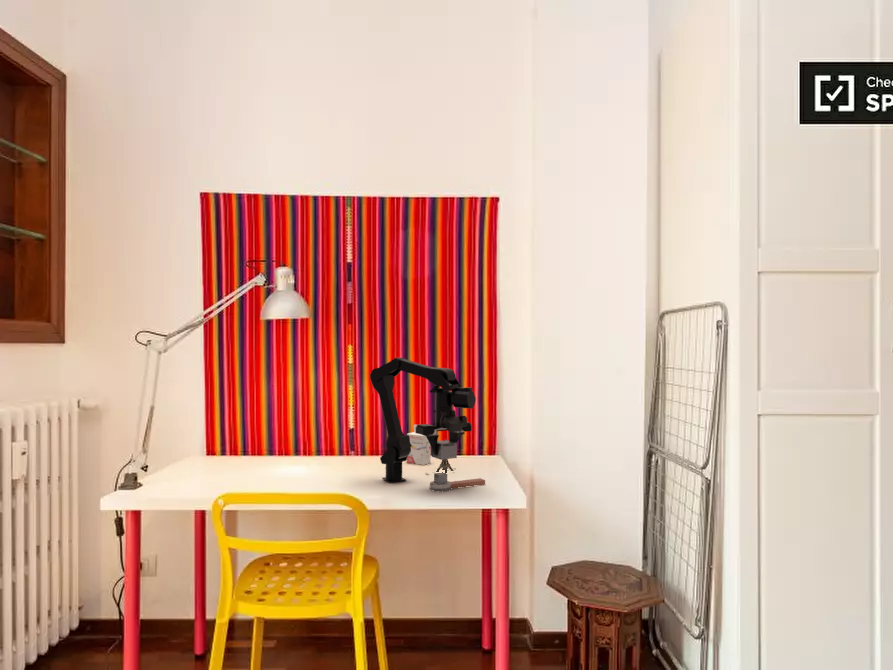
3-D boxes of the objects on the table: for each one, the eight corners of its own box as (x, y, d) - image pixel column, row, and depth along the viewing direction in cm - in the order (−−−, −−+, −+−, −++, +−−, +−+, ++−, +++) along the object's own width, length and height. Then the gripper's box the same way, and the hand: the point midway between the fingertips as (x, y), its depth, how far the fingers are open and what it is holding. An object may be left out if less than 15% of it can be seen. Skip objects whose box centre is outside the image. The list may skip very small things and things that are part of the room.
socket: (431, 456, 208) (431, 441, 208) (447, 454, 211) (447, 440, 211) (441, 459, 203) (441, 444, 203) (456, 457, 206) (456, 442, 206)
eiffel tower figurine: (462, 469, 237) (463, 434, 237) (467, 475, 227) (467, 438, 227) (423, 470, 235) (423, 435, 235) (426, 476, 225) (426, 439, 225)
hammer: (435, 492, 200) (435, 476, 200) (426, 488, 206) (426, 472, 206) (488, 486, 209) (488, 471, 209) (477, 481, 215) (477, 467, 215)
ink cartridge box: (406, 463, 246) (406, 425, 247) (413, 461, 251) (413, 424, 251) (424, 465, 242) (424, 427, 242) (431, 463, 246) (431, 425, 246)
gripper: (432, 411, 195) (431, 461, 195) (481, 407, 205) (481, 455, 205) (414, 407, 205) (414, 455, 204) (462, 404, 214) (462, 450, 214)
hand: (444, 454), depth 207 cm, fingers closed on socket, 6 cm apart
